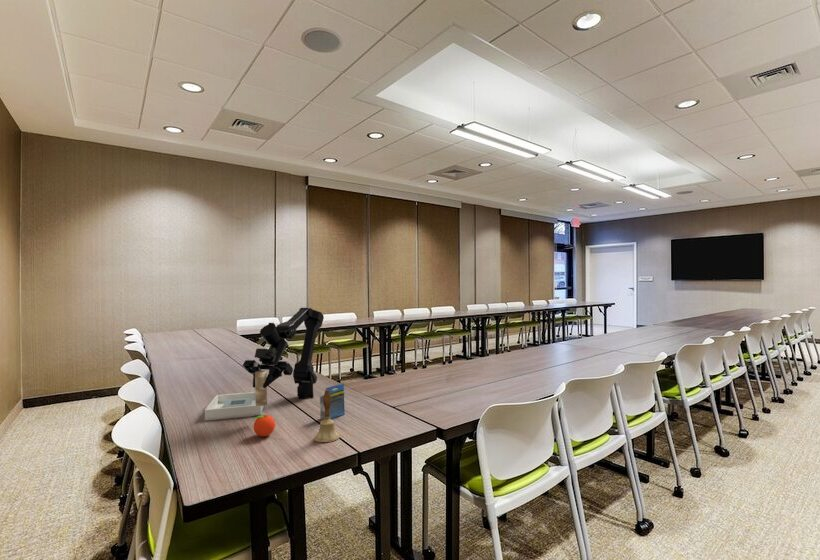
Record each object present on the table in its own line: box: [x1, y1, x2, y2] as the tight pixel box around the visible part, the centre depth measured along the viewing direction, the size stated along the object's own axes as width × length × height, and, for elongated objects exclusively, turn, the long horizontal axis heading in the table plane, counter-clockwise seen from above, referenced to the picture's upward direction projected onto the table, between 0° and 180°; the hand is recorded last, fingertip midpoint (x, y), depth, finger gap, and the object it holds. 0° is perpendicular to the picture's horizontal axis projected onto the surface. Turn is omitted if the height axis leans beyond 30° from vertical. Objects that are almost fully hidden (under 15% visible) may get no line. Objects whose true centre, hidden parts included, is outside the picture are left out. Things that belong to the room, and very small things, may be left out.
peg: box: [254, 370, 268, 406], centre depth 146 cm, size 4×4×12 cm
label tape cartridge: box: [319, 382, 346, 421], centre depth 151 cm, size 9×4×12 cm, turn 139°
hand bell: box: [314, 389, 341, 443], centre depth 131 cm, size 8×8×16 cm
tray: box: [204, 391, 265, 422], centre depth 161 cm, size 20×20×4 cm
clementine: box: [249, 414, 276, 437], centre depth 133 cm, size 8×7×7 cm
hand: (258, 387), depth 145 cm, fingers closed on peg, 4 cm apart
